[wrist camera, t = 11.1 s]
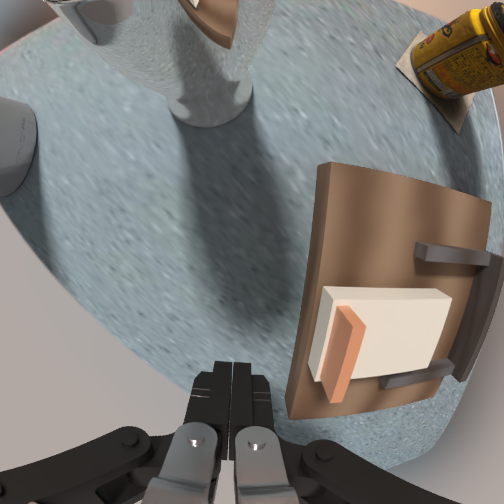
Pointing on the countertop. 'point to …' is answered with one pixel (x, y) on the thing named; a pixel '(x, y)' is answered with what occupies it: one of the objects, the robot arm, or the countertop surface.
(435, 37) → the condiment
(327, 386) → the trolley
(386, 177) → the dock
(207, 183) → the countertop surface
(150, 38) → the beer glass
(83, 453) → the robot arm
